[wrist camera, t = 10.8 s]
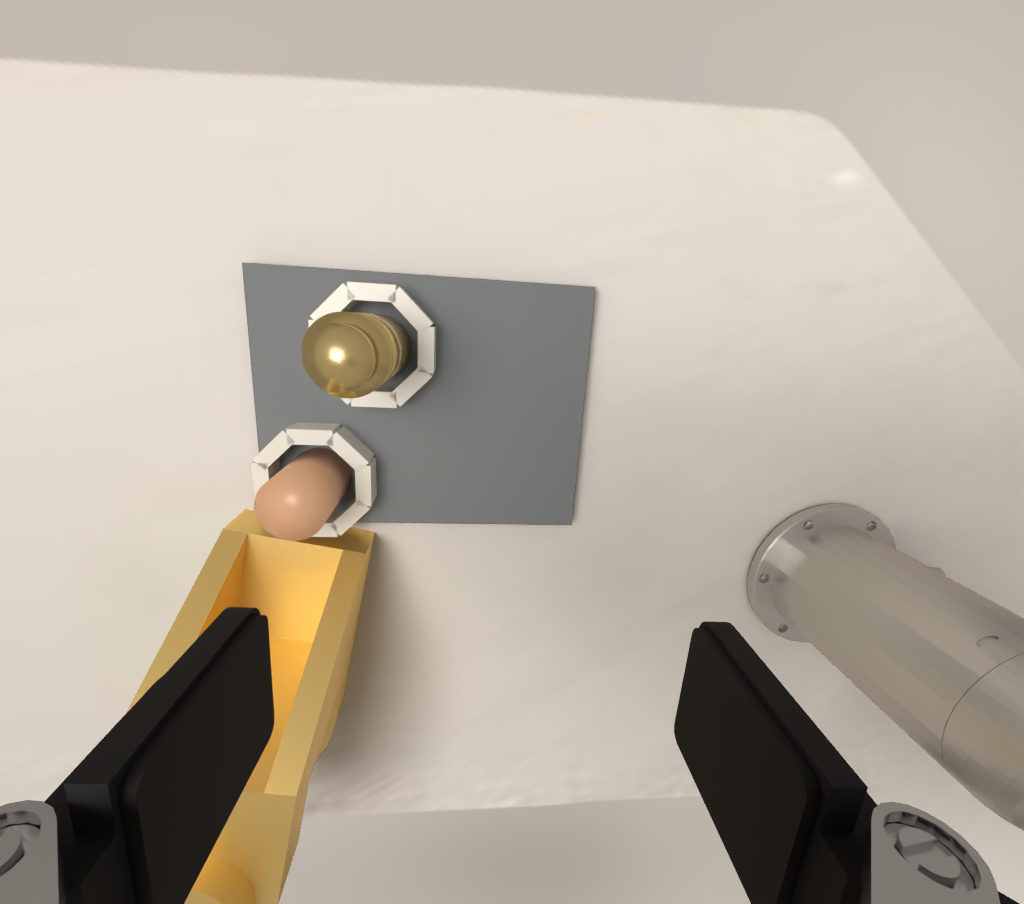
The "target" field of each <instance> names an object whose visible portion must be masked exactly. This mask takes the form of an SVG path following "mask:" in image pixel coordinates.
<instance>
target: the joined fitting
mask: <svg viewBox="0 0 1024 904" xmlns="http://www.w3.org/2000/svg"><path fill="white" fill-rule="evenodd" d="M293 445H326V446H330V447H331V448H332V449H333V450H334V451H333V450H331V449H328V448H322V447H316V448H311V449H308V450H306V451H304V452H302V453H301V454H300V455H298V456H297V457H296V458H295V459H294V460H292V461H291V462H290V463H289V464H288V465H286V466H285V467H284V468H283V469H282V470H280V458H281V457H282V456H283V455H284V454H285V453H286V452H287V451H288V450H289V449H290V448H291V447H292V446H293ZM373 456H374V453H373V452H372V451H371V450H370V449H369V448H367V447H366V446H365V445H364V444H363V443H362V442H361V441H360V440H359V439H358V438H357V437H356V436H355V435H354V434H353V433H352V432H351V431H350V430H348V429H347V428H346V427H345V426H342V427H341V426H340V424H335V423H306V422H297V423H295V424H292V425H290V426H289V427H287V428H285V429H284V430H282V431H281V432H280V433H279V434H278V435H277V436H276V437H275V438H274V439H273V440H272V441H271V442H270V443H269V444H268V445H267V446H266V447H265V448H264V449H263V450H262V451H261V452H260V453H259V454H257V455H256V456H255V457H254V458H253V459H252V460H253V462H252V463H251V468H252V479H253V490H254V500H255V501H254V510H255V514H256V517H257V519H258V521H259V523H260V524H261V526H262V527H263V528H264V529H265V530H266V531H267V532H269V533H270V534H272V535H273V536H275V537H278V538H280V539H284V540H289V541H298V540H304V539H307V538H309V537H338V535H340V536H341V535H342V534H343V533H344V532H345V531H347V530H348V529H349V528H350V527H351V526H352V525H353V524H354V523H355V522H356V521H358V520H359V519H360V518H361V517H362V516H363V515H364V514H365V513H366V512H367V511H369V510H370V508H371V506H372V504H373V502H374V500H375V498H376V496H377V483H376V457H373ZM348 464H349V465H350V466H351V467H352V468H353V469H355V491H356V497H355V498H354V499H353V500H352V501H351V502H350V503H349V504H348V505H347V506H345V507H344V508H343V509H342V510H341V511H340V512H333V511H334V509H335V508H336V506H337V505H338V503H339V502H340V500H341V499H342V497H343V496H344V494H345V493H346V491H347V490H348V488H349V486H350V483H351V470H350V467H349V465H348Z"/></svg>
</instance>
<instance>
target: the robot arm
mask: <svg viewBox="0 0 1024 904" xmlns="http://www.w3.org/2000/svg"><path fill="white" fill-rule="evenodd" d="M747 590H748V596H749V601H750V604H751V606H752V609H753V611H754V612H755V614H756V615H757V617H758V618H759V619H760V620H761V621H762V622H763V623H764V624H765V625H766V626H767V627H768V628H769V630H771V631H772V632H774V633H775V634H776V635H778V636H781V637H783V638H786V639H788V640H792V641H798V642H810V643H811V644H812V645H813V646H814V647H815V648H816V649H818V650H819V651H820V652H821V653H822V654H823V655H824V656H825V657H826V658H827V659H828V660H829V661H830V662H831V663H832V664H833V665H835V666H836V667H837V668H838V669H839V670H840V671H841V672H842V673H843V674H844V675H845V676H846V677H847V678H848V679H849V680H850V681H852V682H853V683H854V684H855V685H856V686H857V687H858V688H859V689H860V690H861V691H862V692H863V693H864V694H865V695H866V696H867V697H869V698H870V699H871V700H872V701H873V702H874V703H875V704H876V705H877V706H878V707H879V708H880V709H881V710H882V711H883V712H885V713H886V714H887V715H888V716H889V717H890V718H891V719H892V720H893V721H894V722H895V723H896V724H897V725H898V726H899V727H900V728H902V729H903V730H904V731H905V732H906V733H907V734H908V735H909V736H910V737H911V738H912V739H913V740H914V741H915V742H916V743H917V744H919V745H920V746H921V747H922V748H923V749H924V750H925V751H926V752H927V753H928V754H929V755H930V756H931V757H932V758H933V759H934V760H936V761H937V762H938V763H939V764H940V765H941V766H942V767H943V768H944V769H945V770H946V771H947V772H948V773H949V774H950V775H951V776H953V777H954V778H955V779H956V780H957V781H958V782H959V783H960V784H961V785H962V786H964V787H965V788H966V789H967V790H968V791H969V792H970V793H971V794H972V795H973V796H974V797H975V798H977V799H978V800H979V801H980V802H981V803H983V804H984V805H985V806H986V807H987V808H989V809H990V810H992V811H993V812H994V813H996V814H997V815H999V816H1000V817H1001V818H1003V819H1004V820H1006V821H1008V822H1010V823H1011V824H1013V825H1015V826H1017V827H1018V828H1020V829H1022V830H1024V618H1022V617H1020V616H1018V615H1016V614H1015V613H1013V612H1011V611H1009V610H1007V609H1005V608H1003V607H1002V606H1000V605H998V604H996V603H994V602H992V601H990V600H989V599H987V598H985V597H983V596H981V595H979V594H977V593H976V592H974V591H972V590H970V589H968V588H966V587H964V586H963V585H961V584H959V583H957V582H955V581H953V580H951V579H950V578H948V577H946V576H945V573H944V571H942V570H941V569H940V568H937V567H927V566H925V565H924V564H922V563H920V562H918V561H916V560H914V559H912V558H911V557H909V556H907V555H905V554H903V553H901V552H899V551H898V550H896V546H895V543H894V539H893V537H892V535H891V533H890V531H889V530H888V528H887V527H886V526H885V525H884V524H883V523H882V522H881V521H880V520H879V519H878V518H876V517H875V516H873V515H872V514H870V513H868V512H866V511H864V510H861V509H859V508H857V507H854V506H850V505H845V504H825V505H819V506H815V507H812V508H809V509H806V510H803V511H801V512H799V513H797V514H795V515H793V516H792V517H790V518H788V519H787V520H785V521H784V522H783V523H781V524H780V525H779V526H777V527H776V528H775V529H774V530H773V531H772V532H771V533H770V534H769V536H768V537H767V538H766V539H765V540H764V542H763V543H762V545H761V546H760V547H759V549H758V550H757V552H756V555H755V557H754V559H753V561H752V563H751V567H750V571H749V574H748V585H747ZM273 727H274V702H273V687H272V672H271V657H270V641H269V626H268V618H267V616H265V615H260V611H259V609H257V608H249V607H227V608H226V609H225V610H223V611H222V612H221V614H220V615H219V616H218V617H217V618H216V619H215V620H214V621H213V622H212V623H211V624H210V626H209V627H208V628H207V629H206V630H205V631H204V632H203V633H202V634H201V635H200V636H199V637H198V639H197V640H196V641H195V642H194V643H193V644H192V645H191V646H190V647H189V648H188V649H187V650H186V652H185V653H184V654H183V655H182V656H181V657H180V658H179V659H178V660H177V661H176V662H175V664H174V665H173V666H172V667H171V668H170V669H169V670H168V671H167V672H166V673H165V674H164V675H163V676H162V677H161V678H160V679H158V680H157V681H156V682H155V683H154V684H153V685H152V686H151V687H150V688H149V690H148V691H147V692H146V693H145V694H144V695H143V696H142V697H141V698H140V699H139V700H138V701H137V703H136V704H135V705H134V706H133V707H132V708H131V709H130V710H129V711H128V712H127V713H126V714H125V715H124V717H123V718H122V719H121V720H120V721H119V722H118V723H117V724H116V725H115V726H114V727H113V728H112V730H111V731H110V732H109V733H108V734H107V735H106V736H105V737H104V738H103V739H102V740H101V741H100V742H99V744H98V745H97V746H96V747H95V748H94V749H93V750H92V751H91V752H90V753H89V754H88V755H87V756H86V758H85V759H84V760H83V761H82V762H81V763H80V764H79V765H78V766H77V767H76V768H75V769H74V771H73V772H72V773H71V774H70V775H69V776H68V777H67V778H66V779H65V780H64V781H63V782H62V783H61V785H60V786H59V787H58V788H57V789H56V790H55V791H54V792H53V793H52V794H51V795H50V796H49V798H48V799H47V800H46V801H45V802H42V801H31V800H26V801H21V802H15V803H9V804H6V805H3V806H0V904H184V903H185V901H186V899H187V897H188V895H189V893H190V891H191V889H192V888H193V886H194V884H195V882H196V880H197V878H198V876H199V874H200V872H201V870H202V868H203V866H204V865H205V863H206V861H207V859H208V857H209V855H210V853H211V851H212V849H213V847H214V845H215V843H216V841H217V840H218V838H219V836H220V834H221V832H222V830H223V828H224V826H225V824H226V822H227V820H228V818H229V816H230V815H231V813H232V811H233V809H234V807H235V805H236V803H237V801H238V799H239V797H240V795H241V793H242V792H243V790H244V788H245V786H246V784H247V782H248V780H249V778H250V776H251V774H252V772H253V770H254V768H255V767H256V765H257V763H258V761H259V759H260V757H261V755H262V753H263V751H264V749H265V747H266V745H267V744H268V742H269V740H270V737H271V735H272V732H273ZM674 732H675V738H676V741H677V744H678V746H679V749H680V751H681V753H682V755H683V757H684V759H685V762H686V764H687V766H688V768H689V770H690V772H691V775H692V777H693V779H694V781H695V783H696V785H697V788H698V790H699V792H700V794H701V796H702V798H703V801H704V803H705V804H706V807H707V809H708V811H709V813H710V816H711V818H712V820H713V822H714V824H715V826H716V829H717V831H718V833H719V835H720V837H721V839H722V842H723V843H724V846H725V848H726V850H727V852H728V855H729V856H730V859H731V861H732V863H733V865H734V867H735V870H736V872H737V874H738V876H739V878H740V881H741V883H742V885H743V887H744V889H745V891H746V894H747V896H748V898H749V900H750V902H751V904H1019V903H1017V902H1016V901H1014V900H1012V899H1010V898H1009V897H1007V896H1005V895H1004V894H1002V893H1000V892H998V891H997V887H996V883H995V880H994V878H993V876H992V873H991V871H990V869H989V867H988V866H987V864H986V863H985V862H984V860H983V859H982V857H981V856H980V855H979V853H978V852H977V851H976V850H975V849H974V848H973V847H972V846H971V845H970V844H969V843H968V842H967V841H966V840H965V839H964V838H963V837H962V836H961V835H959V834H958V833H957V832H955V831H954V830H953V829H951V828H950V827H949V826H948V825H946V824H945V823H944V822H942V821H940V820H938V819H937V818H935V817H933V816H932V815H930V814H928V813H926V812H924V811H922V810H919V809H917V808H914V807H912V806H909V805H906V804H901V803H896V802H888V803H881V804H880V805H877V804H876V803H875V802H874V801H873V799H872V798H871V797H870V796H869V794H868V793H867V792H866V791H867V788H868V787H867V786H866V785H865V784H864V782H863V781H862V780H861V779H860V778H859V776H858V775H857V774H856V773H855V772H854V770H853V769H852V768H851V767H850V766H849V764H848V763H847V762H846V761H845V760H844V758H843V757H842V756H841V755H840V754H839V752H838V751H837V750H836V749H835V748H834V746H833V745H832V744H831V743H830V742H829V740H828V739H827V738H826V737H825V735H824V734H823V733H822V732H821V731H820V729H819V728H818V727H817V726H816V725H815V723H814V722H813V721H812V720H811V719H810V717H809V716H808V715H807V714H806V713H805V711H804V710H803V709H802V708H801V707H800V705H799V704H798V703H797V702H796V701H795V699H794V698H793V697H792V696H791V695H790V693H789V692H788V691H787V690H786V689H785V687H784V686H783V685H782V684H781V683H780V681H779V680H778V679H777V678H776V677H775V675H774V674H773V673H772V672H771V671H770V669H769V668H768V667H767V666H766V665H765V663H764V662H763V661H762V660H761V659H760V657H759V656H758V655H757V654H756V653H755V651H754V650H753V649H752V648H751V647H750V645H749V644H748V643H747V642H746V641H745V639H744V638H743V637H742V636H741V635H740V633H739V632H738V631H737V630H736V629H735V627H734V626H733V625H732V624H731V623H728V622H702V623H701V625H700V627H699V628H695V629H694V630H693V633H692V637H691V642H690V647H689V652H688V658H687V663H686V668H685V673H684V678H683V683H682V688H681V693H680V699H679V704H678V709H677V714H676V719H675V725H674Z"/></svg>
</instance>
